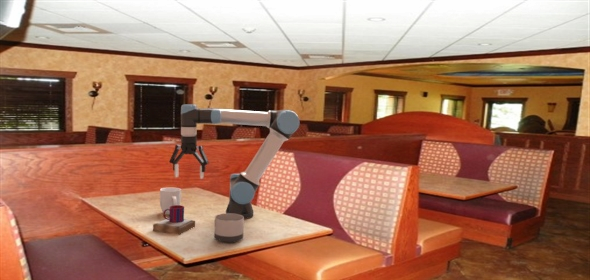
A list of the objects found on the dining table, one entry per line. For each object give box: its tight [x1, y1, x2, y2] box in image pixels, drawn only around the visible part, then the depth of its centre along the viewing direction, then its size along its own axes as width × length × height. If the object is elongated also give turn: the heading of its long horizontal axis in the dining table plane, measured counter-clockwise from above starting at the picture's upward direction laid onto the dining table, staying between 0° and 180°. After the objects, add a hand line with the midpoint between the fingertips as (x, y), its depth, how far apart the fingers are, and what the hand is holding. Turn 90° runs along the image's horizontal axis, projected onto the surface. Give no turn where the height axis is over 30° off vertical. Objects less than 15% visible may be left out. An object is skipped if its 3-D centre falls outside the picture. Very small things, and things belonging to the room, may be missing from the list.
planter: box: [213, 212, 245, 244], centre depth 190 cm, size 13×13×10 cm
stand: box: [152, 217, 196, 236], centre depth 202 cm, size 14×14×4 cm
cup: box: [162, 204, 185, 223], centre depth 202 cm, size 7×10×7 cm
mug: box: [159, 186, 182, 215], centre depth 227 cm, size 15×11×13 cm
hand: (189, 177), depth 212 cm, fingers open, 13 cm apart
